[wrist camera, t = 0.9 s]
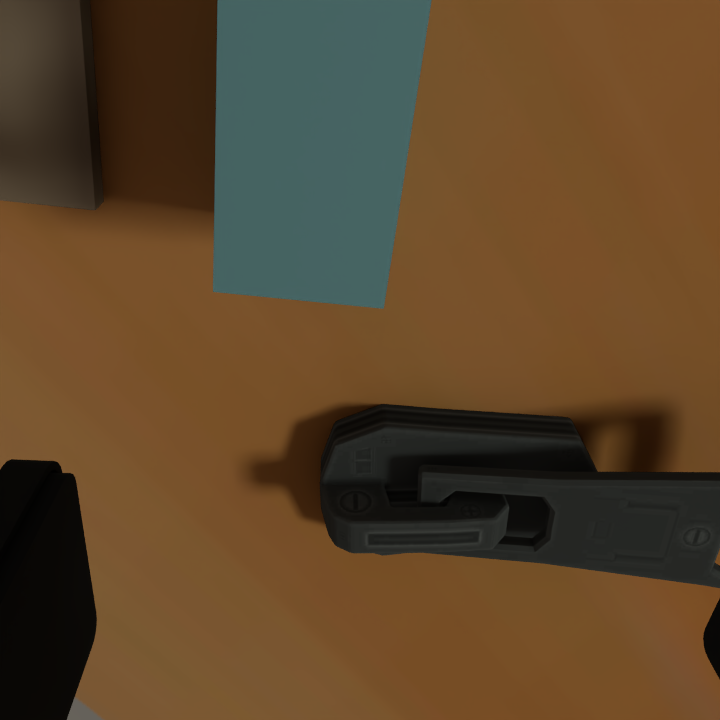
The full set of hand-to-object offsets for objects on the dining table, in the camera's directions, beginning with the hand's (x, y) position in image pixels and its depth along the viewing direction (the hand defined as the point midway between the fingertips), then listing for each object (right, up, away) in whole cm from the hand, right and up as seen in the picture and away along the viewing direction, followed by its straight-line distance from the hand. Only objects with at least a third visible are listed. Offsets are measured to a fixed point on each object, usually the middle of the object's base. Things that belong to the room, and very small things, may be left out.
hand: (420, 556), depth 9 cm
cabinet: (-3, +13, +19) cm, 23 cm away
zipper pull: (+9, -3, +29) cm, 31 cm away
